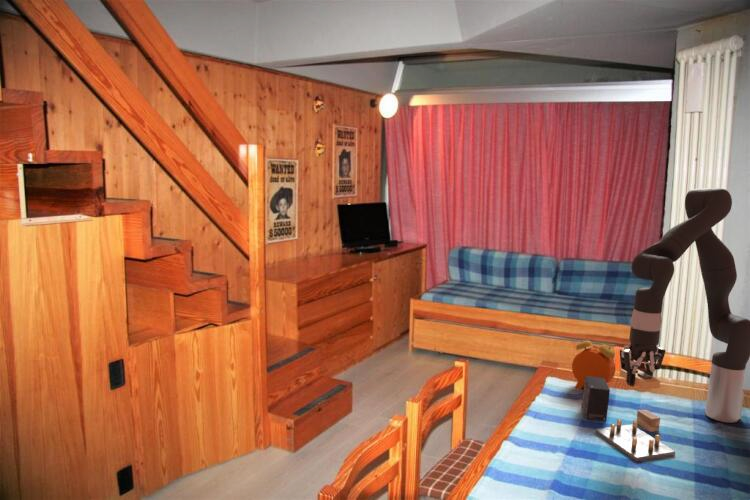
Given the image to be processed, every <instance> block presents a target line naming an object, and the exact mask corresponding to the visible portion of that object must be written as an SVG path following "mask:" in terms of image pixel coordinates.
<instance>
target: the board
mask: <svg viewBox="0 0 750 500" xmlns="http://www.w3.org/2000/svg"><path fill="white" fill-rule="evenodd" d="M635 374H636V377H635V385H636V386H638V387H639V388H642V389H643V390H649V389H660V388H661V387H660V386H661V380H659V379H657V378H655V377H654V376H653V377H652V376H650V375H648V374H646V373H644V371H642V370H640V369H638V368H637V370H636V373H635ZM619 377H621V378H623V379H625V380H626V379H627V371H625V370H623V369H621V368H620V370H619Z"/></svg>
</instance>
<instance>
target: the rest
mask: <svg viewBox="0 0 750 500" xmlns="http://www.w3.org/2000/svg"><path fill="white" fill-rule="evenodd" d="M636 421H637V422H638V423H637V425H638V426H640V427H642V428H644V429H645V430H647V431H649V432H651V433H653V432H659V430H660V424H661V423H660V421H661V418H660V417H659V416H657V415H655V414H653V413H652V412H650V411H649V410H647V409H640V410H637V413H636Z"/></svg>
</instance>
